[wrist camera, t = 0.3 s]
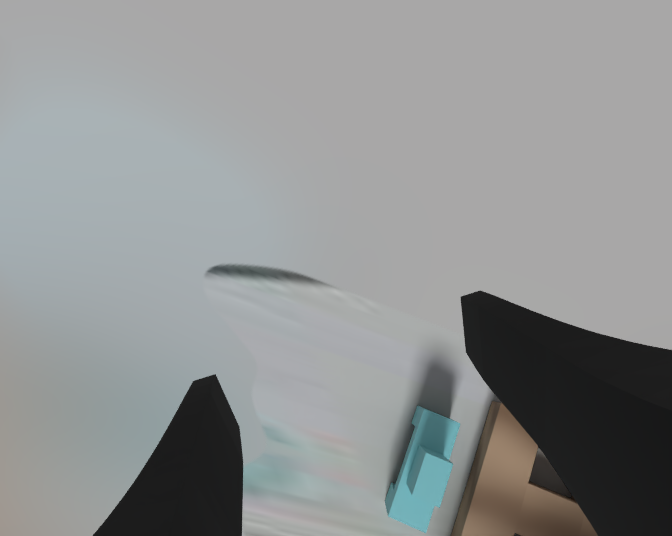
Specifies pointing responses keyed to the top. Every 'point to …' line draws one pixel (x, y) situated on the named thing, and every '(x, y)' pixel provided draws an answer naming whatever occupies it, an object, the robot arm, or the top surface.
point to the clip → (423, 470)
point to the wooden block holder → (513, 488)
